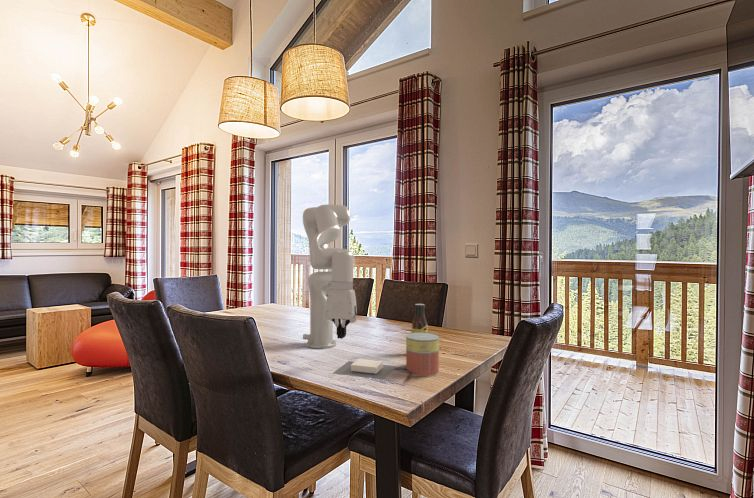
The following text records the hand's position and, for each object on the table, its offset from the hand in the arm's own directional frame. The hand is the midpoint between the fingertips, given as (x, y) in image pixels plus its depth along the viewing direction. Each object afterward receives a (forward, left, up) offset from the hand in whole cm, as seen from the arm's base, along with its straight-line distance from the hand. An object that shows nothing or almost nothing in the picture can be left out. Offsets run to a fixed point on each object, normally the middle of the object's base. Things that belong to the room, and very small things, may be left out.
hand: (341, 337), depth 135 cm
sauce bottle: (+23, +25, -11) cm, 36 cm away
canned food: (+28, +6, -11) cm, 30 cm away
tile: (+6, -2, -8) cm, 10 cm away
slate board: (+10, -2, -11) cm, 15 cm away
